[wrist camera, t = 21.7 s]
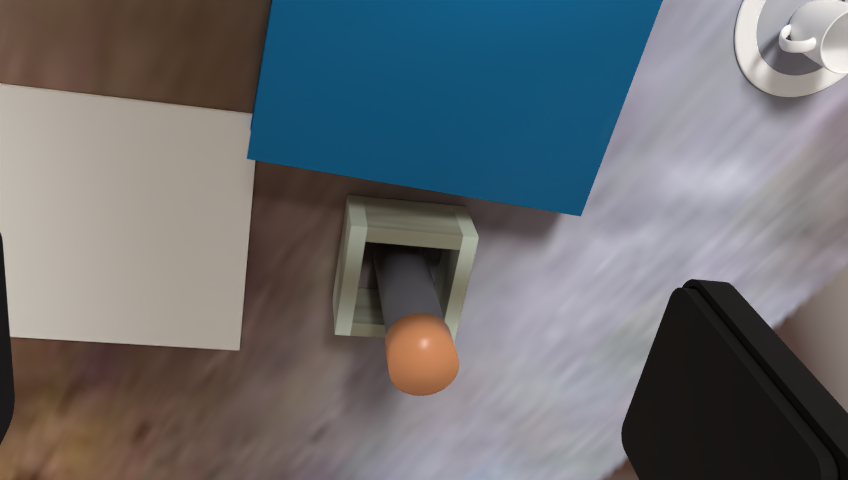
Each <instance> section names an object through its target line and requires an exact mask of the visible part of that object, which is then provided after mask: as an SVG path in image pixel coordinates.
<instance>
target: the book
mask: <svg viewBox="0 0 848 480" xmlns="http://www.w3.org/2000/svg"><path fill="white" fill-rule="evenodd" d="M662 1H663V0H271V4H270V10H269V16H268V23H267V29H266V35H265V41H264V47H263V53H262V59H261V65H260V71H259V78H258V84H257V90H256V96H255V102H254V108H253V114H252V120H251V126H250V130H251V134H250V140H249V146H248V152H247V159H250V160H256V161H262V162H268V163H273V164H279V165H285V166H291V167H297V168H302V169H308V170H314V171H320V172H326V173H332V174H337V175H343V176H349V177H355V178H361V179H366V180H372V181H378V182H384V183H390V184H396V185H401V186H407V187H413V188H419V189H425V190H431V191H436V192H442V193H448V194H454V195H460V196H465V197H471V198H477V199H483V200H489V201H495V202H500V203H506V204H512V205H518V206H524V207H529V208H535V209H541V210H547V211H553V212H559V213H564V214H570V215H576V216H581V214H582V212H583V209H584V207H585V204H586V201H587V199H588V196H589V193H590V191H591V188H592V185H593V183H594V180H595V178H596V175H597V172H598V170H599V167H600V164H601V162H602V159H603V156H604V154H605V151H606V149H607V146H608V143H609V141H610V138H611V135H612V133H613V130H614V127H615V125H616V122H617V119H618V117H619V114H620V112H621V109H622V106H623V104H624V101H625V98H626V96H627V93H628V90H629V88H630V85H631V83H632V80H633V77H634V75H635V72H636V69H637V67H638V64H639V61H640V59H641V56H642V54H643V51H644V48H645V46H646V43H647V40H648V38H649V35H650V32H651V30H652V27H653V24H654V22H655V19H656V17H657V14H658V11H659V9H660V6H661V3H662Z"/></svg>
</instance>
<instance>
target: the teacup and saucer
mask: <svg viewBox="0 0 848 480" xmlns="http://www.w3.org/2000/svg"><path fill="white" fill-rule="evenodd" d="M765 2H766V0H743V2H742V5H741V7H740V10H739V13H738V17H737V21H736V26H735V36H734V43H735V52H736V56H737V60H738V63H739V65H740V67H741V69H742V71H743V73H744V74H745V76H746V77H747V78H748V80H749V81H750V82H751V83H752V84H753V85H755V86H756V87H757V88H759V89H760V90H762V91H764V92H766V93H769V94H772V95H775V96H781V97H799V96H805V95H809V94H813V93H816V92H818V91H821V90H823V89H825V88H827V87H829V86H831V85H833V84H834V83H836V82H837V81H839V80H840V79H842V78H843V77H844V76H846V75H847V74H848V0H845V2H842V1H837V0H815V1H811V2H808V3H806V4H804V5H802V6H801V7H799V8H798V9H797V10H796V11H795V13H794V14H793V16H792V17H791V20H790V22H789V25H786V26H785V27H784V28H783V29H782V30H781V32H780V35H779V45H780V47H781V48H782V50H784V51H786V52H790V53H803V54H804V55H806V56H807V57H808V58H810V59H811V60H813V61H814V62H816V63H818V64H819V65H821V66H822V67H823V68H821V69H819V70H817V71H815V72H812V73H809V74H804V75H786V74H782V73H779V72H777V71H775V70H773V69H772V68H771V67H769V66H768V65H767V64H766V63H765V61H764V60H763V58H762V57H761V55H760V53H759V50H758V46H757V41H756V28H757V22H758V18H759V15H760V12H761V10H762V7H763V5H764V3H765ZM788 35H790V38H791V40H792V41H790V40H787V39H786V37H787V36H788Z"/></svg>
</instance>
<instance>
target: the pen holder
mask: <svg viewBox="0 0 848 480" xmlns="http://www.w3.org/2000/svg"><path fill="white" fill-rule="evenodd" d="M478 239H479V237H478V234H477V232H476V229H475V227H474V224H473V222H472V220H471V217H470V215H469V212H468V210H467V208H466V207H465V206H455V205H445V204H435V203H425V202H415V201H406V200H396V199H386V198H376V197H366V196H356V195H347V201H346V208H345V215H344V222H343V229H342V235H341V242H340V249H339V256H338V263H337V270H336V277H335V284H334V291H333V298H332V299H333V314H334V329H335V335H347V336H363V337H378V338H385V337H386V330H385V324H384V318H383V312H382V306H381V300H380V293H379V289H366V288H358V284H359V278H360V271H361V265H362V259H363V253H364V246H365V242H376V243H387V244H398V245H409V246H420V247H431V248H443V249H442V253H441V258H440V263H439V268H438V272H437V277H436V282H435V290H436V294H437V297H438V301H439V304H440V308H441V311H442V315H443V319H444V322H445V323H446V324H447V325H448V327H449V329H450V332H451V335H452V339H453V342H455V338H456V334H457V329H458V325H459V321H460V316H461V312H462V308H463V304H464V299H465V295H466V291H467V286H468V282H469V278H470V274H471V269H472V265H473V261H474V256H475V252H476V248H477V244H478Z"/></svg>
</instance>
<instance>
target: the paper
mask: <svg viewBox="0 0 848 480" xmlns="http://www.w3.org/2000/svg"><path fill="white" fill-rule="evenodd" d="M252 114H253V113H245V112H236V111H228V110H220V109H211V108H203V107H194V106H186V105H178V104H169V103H161V102H152V101H144V100H136V99H127V98H119V97H110V96H102V95H94V94H85V93H77V92H68V91H60V90H52V89H43V88H35V87H26V86H18V85H10V84H1V83H0V233H1V235H2V240H3V251H4V264H5V277H6V290H7V303H8V316H9V329H10V337H22V338H38V339H55V340H72V341H88V342H105V343H122V344H139V345H155V346H172V347H189V348H205V349H222V350H240V338H241V326H242V314H243V302H244V290H245V279H246V267H247V255H248V243H249V231H250V219H251V207H252V195H253V183H254V171H255V160H250V159H247V152H248V146H249V140H250V134H251V130H250V126H251V120H252Z"/></svg>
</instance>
